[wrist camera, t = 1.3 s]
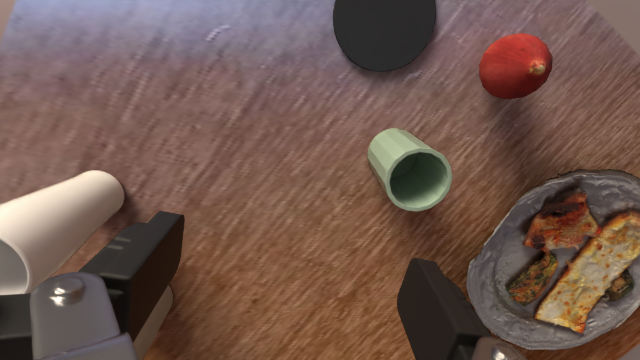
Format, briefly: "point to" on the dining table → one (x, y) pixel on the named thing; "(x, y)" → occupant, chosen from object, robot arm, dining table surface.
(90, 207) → the drinking glass
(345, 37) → the coaster
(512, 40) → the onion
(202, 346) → the dining table surface
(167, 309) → the travel mug
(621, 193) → the food plate
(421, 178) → the cup
